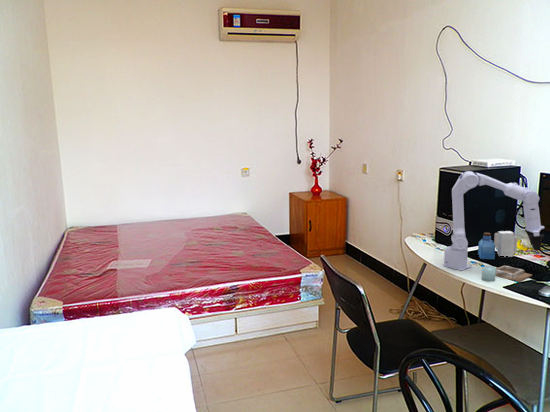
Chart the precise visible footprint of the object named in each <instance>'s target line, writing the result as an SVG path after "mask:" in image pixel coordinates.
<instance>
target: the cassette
mask: <svg viewBox="0 0 550 412" xmlns="http://www.w3.org/2000/svg"><path fill="white" fill-rule="evenodd" d="M493 236H494V238H493V239H494V240H493V243H494V245H495V249H496V248H498V232H495V233H494V235H493ZM517 250H518V237H517V236H514V247H513V253H517Z"/></svg>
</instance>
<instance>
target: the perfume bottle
mask: <svg viewBox="0 0 550 412" xmlns="http://www.w3.org/2000/svg"><path fill="white" fill-rule="evenodd" d="M491 234H492V233H491V232H483V235H482V238H481V239H480V240H479V242H478V245H477V246H478V247H477V255H479V256H478V257H479V259H480V260H495V258H496V247H495V245H494V240H492V239H491V238H492V236H491Z"/></svg>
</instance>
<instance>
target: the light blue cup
mask: <svg viewBox="0 0 550 412" xmlns="http://www.w3.org/2000/svg"><path fill="white" fill-rule="evenodd" d="M496 268H497V267H495V266H491V265H484V266H483V267H482V270H481V271H482V272H481V280H482V281H485V282H494V281H495V282H496V276H495V274H496Z"/></svg>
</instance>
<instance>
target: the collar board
mask: <svg viewBox="0 0 550 412" xmlns="http://www.w3.org/2000/svg"><path fill="white" fill-rule="evenodd" d="M495 268H496V274H495V277H496V278H502V279H505V280H509V281H513V282H517V283H521V282H523V281H525V280H527V279H528V278H531V277H533V273H532V274H531V273H527V272H525V269H522V268H518V267H512V266H509V265H502V266H499V267H495Z"/></svg>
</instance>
